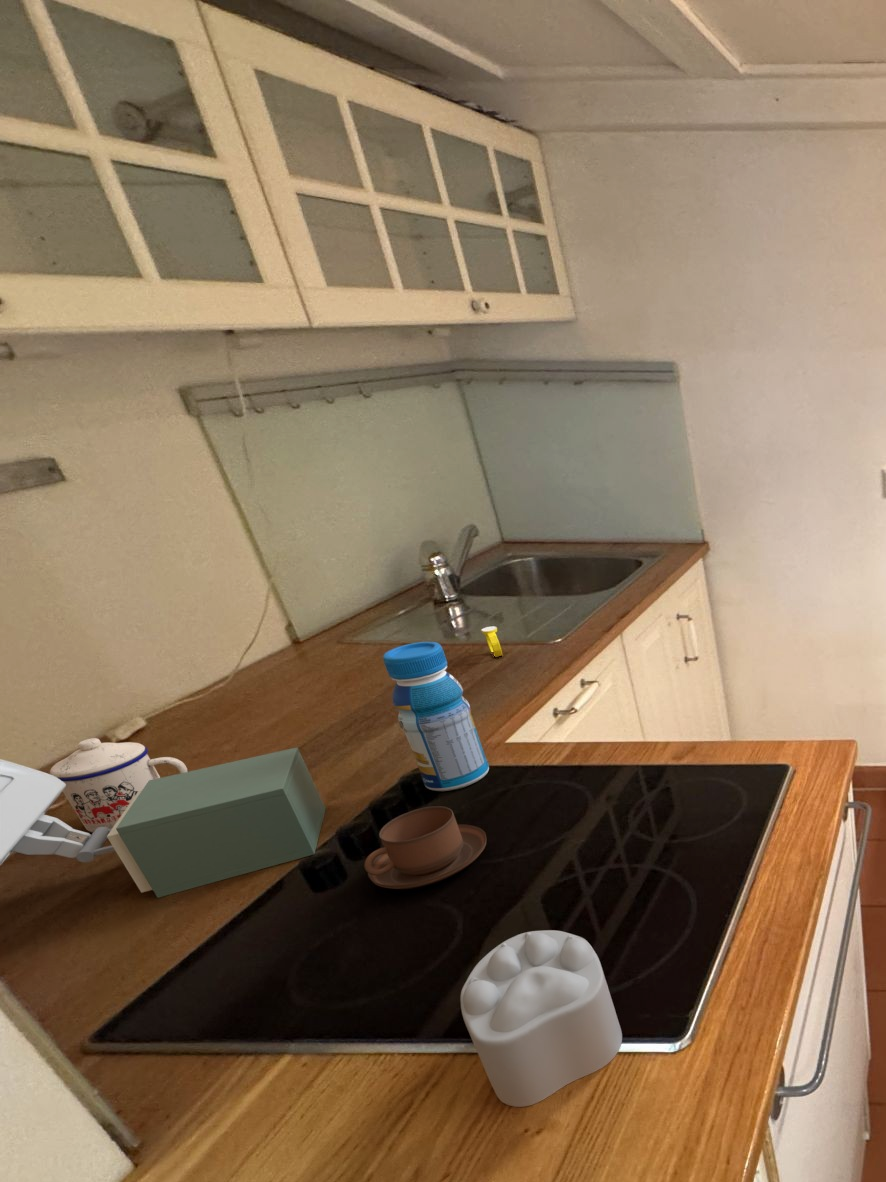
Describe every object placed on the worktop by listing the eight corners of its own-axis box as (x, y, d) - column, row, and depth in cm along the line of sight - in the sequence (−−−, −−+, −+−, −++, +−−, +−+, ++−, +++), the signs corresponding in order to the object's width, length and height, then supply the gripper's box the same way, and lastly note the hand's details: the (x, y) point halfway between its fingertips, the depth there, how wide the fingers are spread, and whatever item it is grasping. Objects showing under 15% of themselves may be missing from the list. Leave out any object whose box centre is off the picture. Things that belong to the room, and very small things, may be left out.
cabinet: (157, 898, 88) (115, 828, 84) (185, 844, 98) (148, 780, 94) (314, 854, 95) (282, 788, 91) (326, 808, 105) (297, 747, 101)
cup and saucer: (438, 903, 85) (420, 858, 83) (347, 894, 87) (326, 850, 85) (512, 840, 96) (498, 798, 93) (429, 834, 98) (413, 793, 96)
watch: (486, 653, 158) (478, 626, 155) (501, 650, 159) (493, 623, 157) (492, 661, 154) (483, 633, 151) (508, 658, 155) (499, 630, 153)
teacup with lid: (72, 843, 99) (22, 765, 94) (98, 810, 106) (53, 736, 101) (194, 814, 104) (152, 739, 99) (211, 785, 112) (173, 714, 107)
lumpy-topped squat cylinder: (501, 1122, 61) (467, 1044, 57) (472, 1022, 70) (442, 949, 66) (634, 1050, 66) (611, 975, 63) (591, 967, 76) (569, 897, 72)
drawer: (90, 906, 86) (52, 849, 82) (122, 856, 94) (90, 802, 91) (289, 852, 94) (262, 798, 91) (301, 810, 103) (277, 759, 99)
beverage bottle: (472, 792, 107) (425, 659, 99) (411, 795, 107) (358, 663, 99) (502, 762, 115) (460, 637, 106) (444, 765, 115) (398, 640, 106)
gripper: (-136, 822, 71) (67, 870, 80) (-32, 738, 87) (128, 786, 96) (-178, 878, 71) (30, 920, 80) (-66, 783, 87) (97, 827, 95)
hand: (84, 846), depth 88 cm, fingers closed, pressing on drawer
